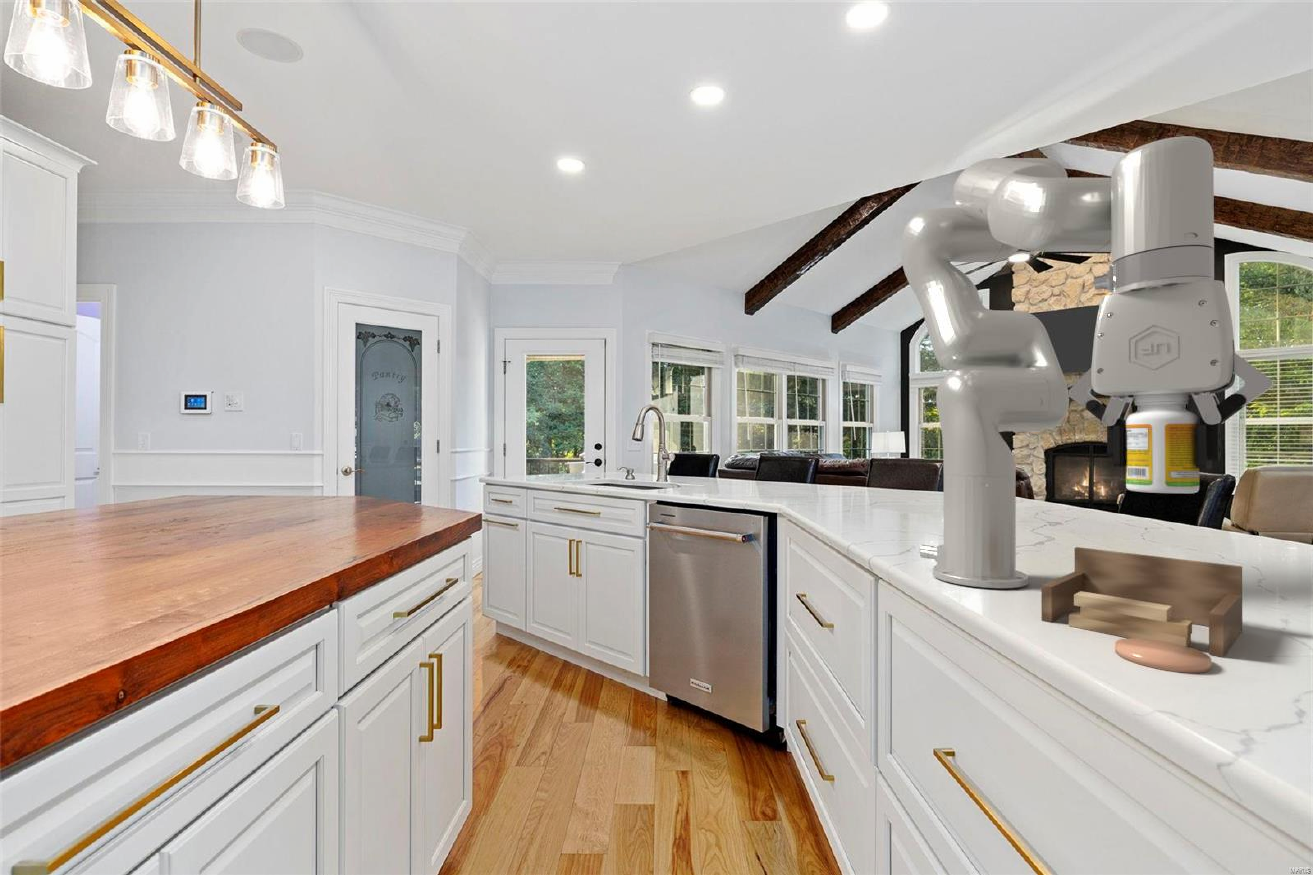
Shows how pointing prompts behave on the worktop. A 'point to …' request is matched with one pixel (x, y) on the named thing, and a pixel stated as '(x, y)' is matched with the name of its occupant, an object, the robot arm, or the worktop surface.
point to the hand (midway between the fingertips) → (1161, 465)
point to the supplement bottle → (1161, 445)
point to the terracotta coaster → (1163, 655)
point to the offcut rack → (1148, 597)
